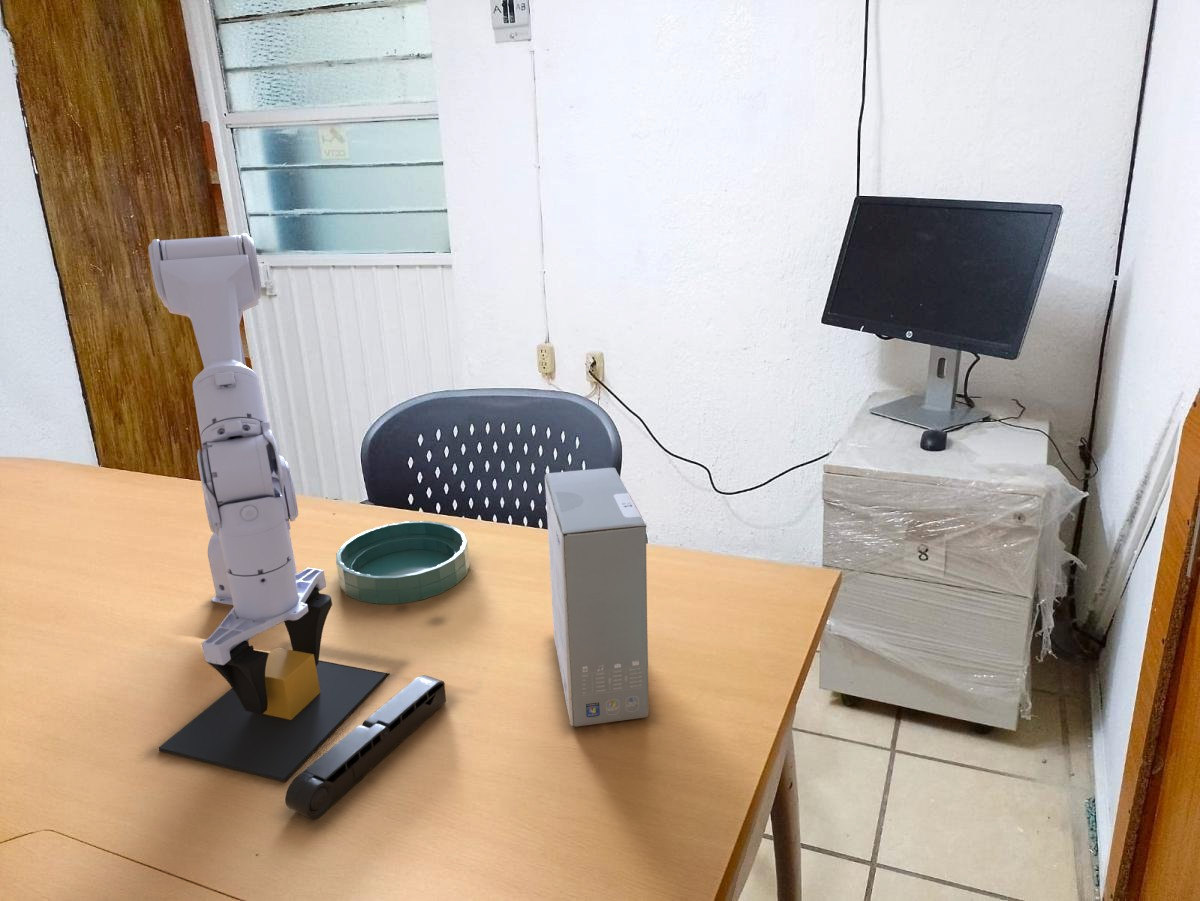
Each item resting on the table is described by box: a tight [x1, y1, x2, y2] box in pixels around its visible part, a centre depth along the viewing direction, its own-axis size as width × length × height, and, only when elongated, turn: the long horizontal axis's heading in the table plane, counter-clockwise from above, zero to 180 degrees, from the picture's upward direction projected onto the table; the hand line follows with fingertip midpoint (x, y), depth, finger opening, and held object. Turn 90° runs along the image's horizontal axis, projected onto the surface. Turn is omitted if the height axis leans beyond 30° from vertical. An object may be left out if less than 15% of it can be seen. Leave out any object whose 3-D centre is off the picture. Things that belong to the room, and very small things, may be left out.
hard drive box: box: [544, 467, 649, 728], centre depth 81 cm, size 16×8×20 cm, turn 9°
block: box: [263, 647, 320, 720], centre depth 81 cm, size 4×4×4 cm
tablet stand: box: [284, 675, 447, 820], centre depth 74 cm, size 18×3×3 cm, turn 152°
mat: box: [158, 659, 390, 783], centre depth 82 cm, size 14×18×1 cm
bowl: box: [335, 520, 471, 605], centre depth 106 cm, size 16×16×4 cm
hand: (283, 686), depth 81 cm, fingers open, 7 cm apart
